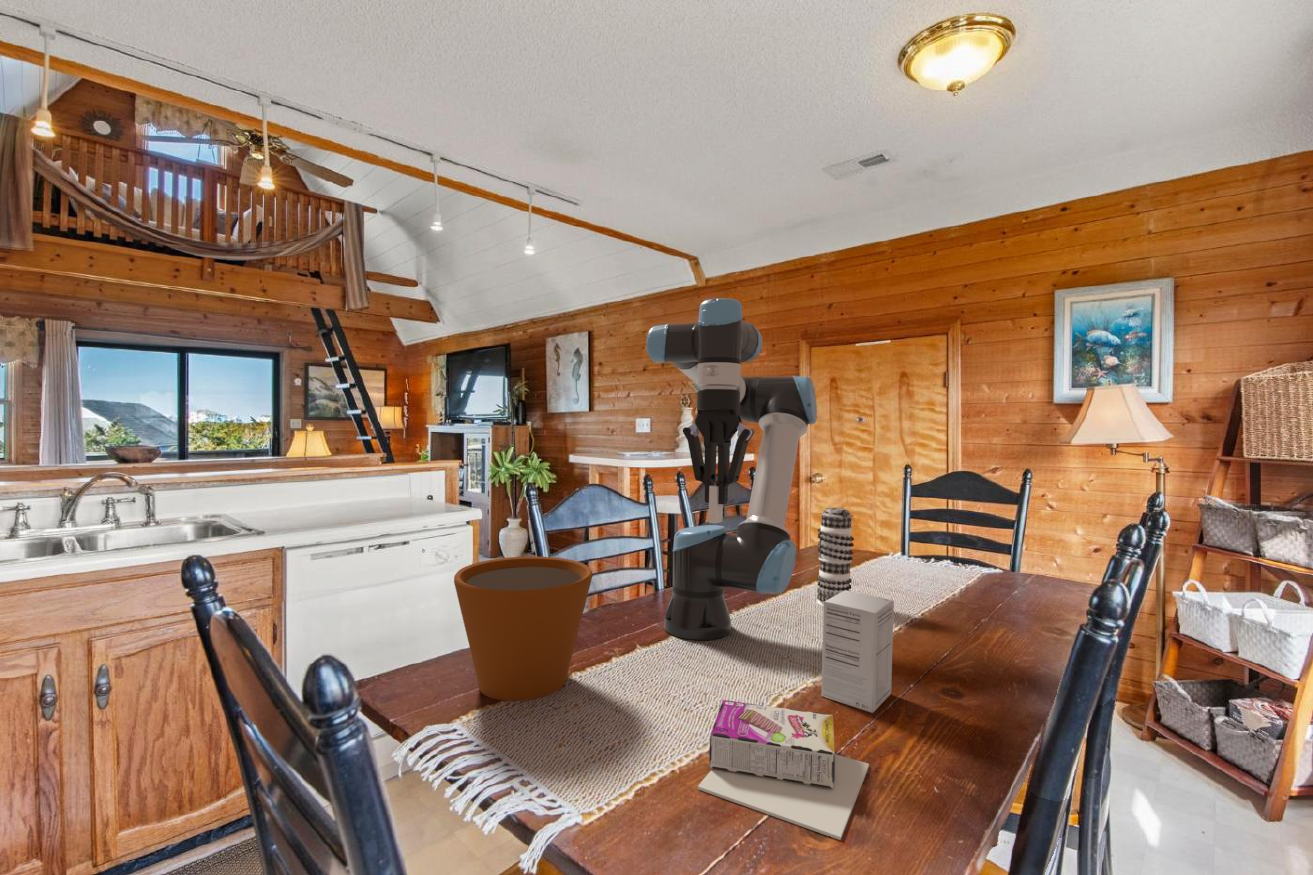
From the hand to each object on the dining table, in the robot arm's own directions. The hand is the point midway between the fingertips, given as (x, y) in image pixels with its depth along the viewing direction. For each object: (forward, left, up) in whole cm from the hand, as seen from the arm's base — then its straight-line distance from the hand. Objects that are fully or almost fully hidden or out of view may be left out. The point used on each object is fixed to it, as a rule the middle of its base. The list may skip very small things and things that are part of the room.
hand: (715, 521), depth 106 cm
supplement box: (+23, +10, -30) cm, 39 cm away
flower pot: (-29, -17, -30) cm, 45 cm away
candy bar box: (+9, -19, -27) cm, 34 cm away
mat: (+20, -20, -29) cm, 41 cm away
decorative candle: (+7, +61, -30) cm, 68 cm away
